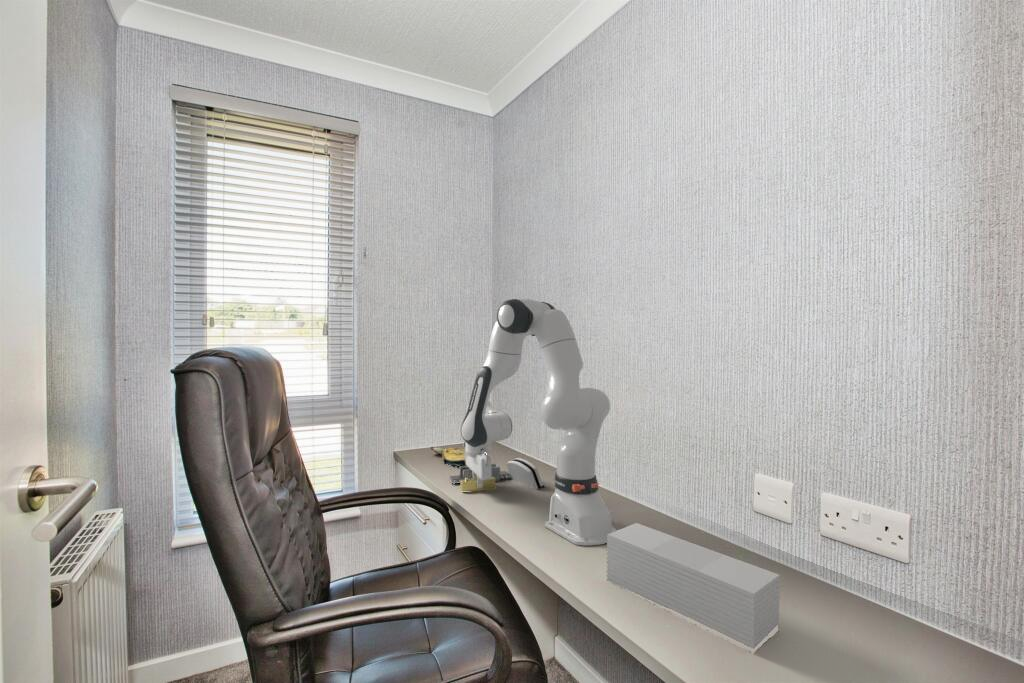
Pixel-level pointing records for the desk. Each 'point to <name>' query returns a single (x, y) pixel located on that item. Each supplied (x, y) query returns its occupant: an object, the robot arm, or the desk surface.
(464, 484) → the brass block with peg
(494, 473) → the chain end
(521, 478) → the grey half-round block
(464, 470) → the chain end
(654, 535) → the stack of papers
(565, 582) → the desk surface
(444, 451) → the pulley block
